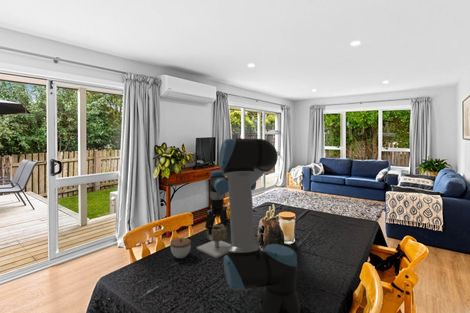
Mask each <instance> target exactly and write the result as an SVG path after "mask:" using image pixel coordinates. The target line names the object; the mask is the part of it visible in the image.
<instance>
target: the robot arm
mask: <svg viewBox="0 0 470 313" xmlns="http://www.w3.org/2000/svg"><path fill="white" fill-rule="evenodd" d="M219 148H220V149H219V154H218V168H219V170H212V171H210V175H209V178H210V181H209V182H210V195H209V196H210V200H209V202H210V204H209V205H210V209H209V210H206V217H205V218H206V220H205V229H206V230H207V229H208V234H209V239H208V240H209V241H210V242H211V241H213V229H212V228H213V226H214V224H215V221H216V218H217V216H218V218H219V220H220V224H219V225H220V226H223V227H226V226H227V224H228V222H230V223H229V224H230V240H231V241H230V242H231V243H230V244H231V246H230V247H229V248H228V253H227V254H225V255H223V261H222V262H223V268H224V274H225V278H226V282H227V285H228V286H229V288H230V289H231V290H232V291H245V290H249V289H257V288H262V292H261V295H260V297H259V302H258V303H259V310H260V312H261V313H301V303H300V300H299V296H298V293H297V270H298V260H297V259H298V258H297V257H298V256H297V253H296V251H294V250H293V249H292V248H290V247H289V246H286V245H282V244H279V243H272V244H271V243H269V244H267V245H266V246H265V247H264V250H263V251H261V250H260V249H261V248H260V246H259V245H258V244H257V243H256V237H255V223H254V222H255V221H254V208H253V194H252V193H253V192H252V191H255V190H256V187H257V181H258V180H259V179H260V178H262V176H263V175H264V174H265V173H266V172H270V171H271V170H272V169H274V167H275V166H276V164H277V162H278V158H279V157H278V151H277V149H276V147H275V145H273V144H272V143H271V142H270V141H268V140H266V139H263V138H236V137H235V138H227V139H224V140H223V141H222V142H221V145H220V147H219ZM226 193H228V199H229V200H228V203H229V217H230V218H229V219H228V211H227V210H228V207H227V206H225V202H224V201H225V199H224V197H225V194H226ZM229 220H230V221H229Z"/></svg>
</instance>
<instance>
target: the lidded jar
mask: <svg viewBox="0 0 470 313" xmlns="http://www.w3.org/2000/svg"><path fill="white" fill-rule="evenodd" d="M169 245H170V251H171V254H172V255H173V256H174V258H176V259H184V258H186V257H187V256H188V255H189V253H190V251H191V247H192V246H191V245H192V241H191V239H189V238H188V237H178V238H174V239H172V240H171V241H170V244H169Z"/></svg>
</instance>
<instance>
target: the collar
mask: <svg viewBox="0 0 470 313" xmlns="http://www.w3.org/2000/svg"><path fill="white" fill-rule="evenodd" d="M212 229H213V241H214V242H219V241H224V240H226V239H228V228H227V227H226V226H225V227H223V226H220V224H215V225H214V224H213V228H212ZM206 239H207V240H209V234H208V229H207V228H206Z"/></svg>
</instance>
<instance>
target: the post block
mask: <svg viewBox="0 0 470 313" xmlns="http://www.w3.org/2000/svg"><path fill="white" fill-rule="evenodd" d="M231 244H232V243H228V242H226V241H224V240H221V241H219V242H214V241H211V240H210V241H209V242H206V243H203V244H202V245H199V246H196V250H198V251H200V252H202V253H204V254H207V255H209V256H210V257H213V258H215V259H219V258H220V257H222V256H226V255H228V248H229V247H230V246H231Z"/></svg>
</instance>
